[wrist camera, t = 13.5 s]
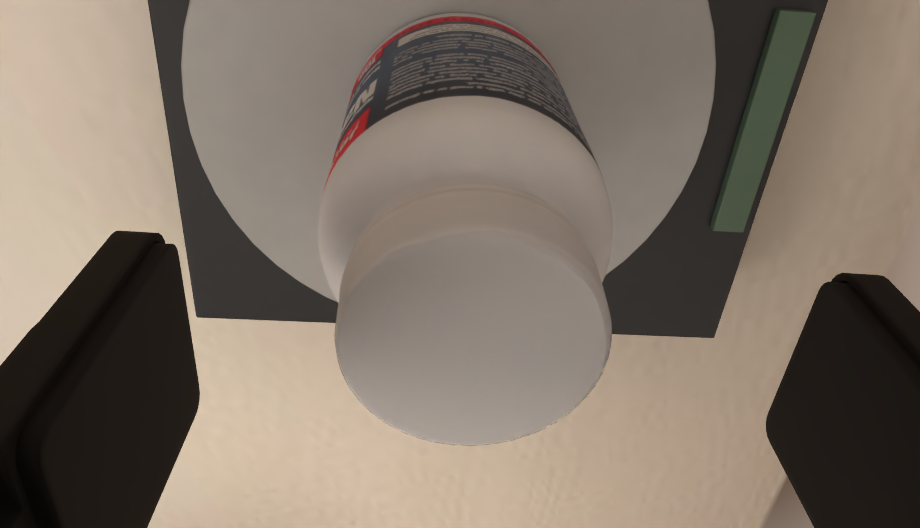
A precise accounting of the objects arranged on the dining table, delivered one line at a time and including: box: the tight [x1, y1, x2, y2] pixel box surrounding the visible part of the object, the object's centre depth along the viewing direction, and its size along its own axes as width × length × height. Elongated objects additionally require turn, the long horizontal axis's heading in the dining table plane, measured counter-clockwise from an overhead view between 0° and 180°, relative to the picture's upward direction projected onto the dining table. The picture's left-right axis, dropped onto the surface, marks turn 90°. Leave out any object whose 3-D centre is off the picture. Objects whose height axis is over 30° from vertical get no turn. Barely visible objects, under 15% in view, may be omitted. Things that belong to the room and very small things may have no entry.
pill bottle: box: [318, 13, 613, 446], centre depth 14 cm, size 5×5×9 cm
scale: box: [148, 0, 828, 338], centre depth 19 cm, size 16×14×3 cm
